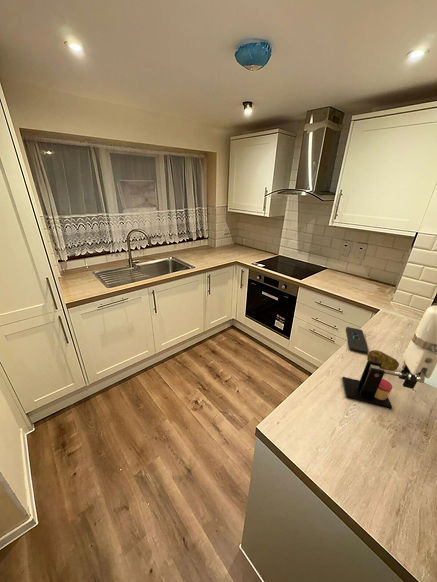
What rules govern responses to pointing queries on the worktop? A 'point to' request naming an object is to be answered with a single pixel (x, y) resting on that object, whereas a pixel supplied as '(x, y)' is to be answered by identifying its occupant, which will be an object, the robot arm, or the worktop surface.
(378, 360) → the potato
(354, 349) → the smart home device
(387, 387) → the cake
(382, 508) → the worktop surface
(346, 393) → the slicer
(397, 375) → the black ball knob
